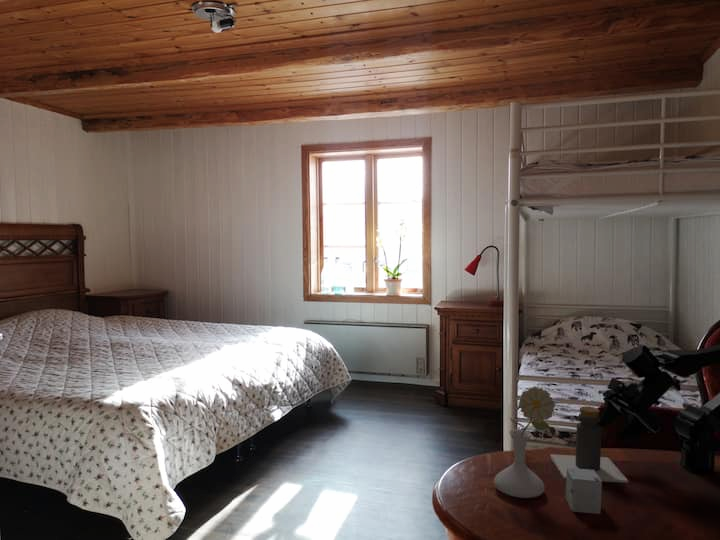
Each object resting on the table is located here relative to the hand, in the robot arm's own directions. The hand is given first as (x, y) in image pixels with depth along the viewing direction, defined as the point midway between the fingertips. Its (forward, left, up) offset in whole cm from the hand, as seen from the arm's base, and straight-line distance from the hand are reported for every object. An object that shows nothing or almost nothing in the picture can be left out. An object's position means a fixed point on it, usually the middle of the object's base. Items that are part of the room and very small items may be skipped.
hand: (607, 432), depth 135 cm
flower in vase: (+24, +16, -10) cm, 31 cm away
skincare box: (+12, +21, -10) cm, 26 cm away
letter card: (+5, +1, -9) cm, 11 cm away
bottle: (+5, +1, -9) cm, 10 cm away
